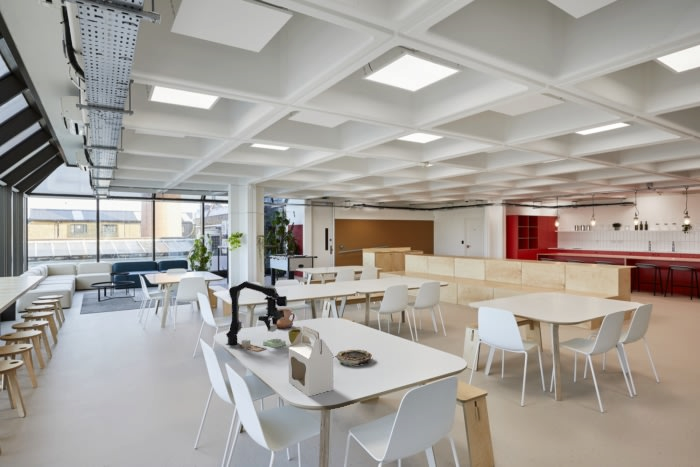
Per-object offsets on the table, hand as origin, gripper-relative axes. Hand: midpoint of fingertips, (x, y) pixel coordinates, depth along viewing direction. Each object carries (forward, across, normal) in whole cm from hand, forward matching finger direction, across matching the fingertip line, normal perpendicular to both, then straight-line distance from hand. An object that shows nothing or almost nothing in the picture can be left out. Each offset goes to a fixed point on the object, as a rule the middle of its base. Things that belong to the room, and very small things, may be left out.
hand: (271, 329), depth 266 cm
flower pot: (+11, +12, -12) cm, 20 cm away
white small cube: (+1, 0, 0) cm, 1 cm away
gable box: (+11, -39, -72) cm, 82 cm away
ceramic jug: (+11, +42, +31) cm, 53 cm away
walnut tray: (+11, -14, +3) cm, 18 cm away
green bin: (+11, 0, -3) cm, 11 cm away
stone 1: (+10, -14, +9) cm, 20 cm away
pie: (+11, +5, -66) cm, 67 cm away
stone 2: (+10, 0, -5) cm, 11 cm away
